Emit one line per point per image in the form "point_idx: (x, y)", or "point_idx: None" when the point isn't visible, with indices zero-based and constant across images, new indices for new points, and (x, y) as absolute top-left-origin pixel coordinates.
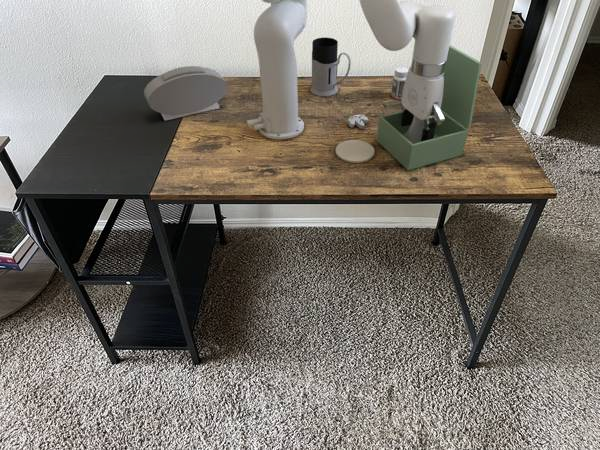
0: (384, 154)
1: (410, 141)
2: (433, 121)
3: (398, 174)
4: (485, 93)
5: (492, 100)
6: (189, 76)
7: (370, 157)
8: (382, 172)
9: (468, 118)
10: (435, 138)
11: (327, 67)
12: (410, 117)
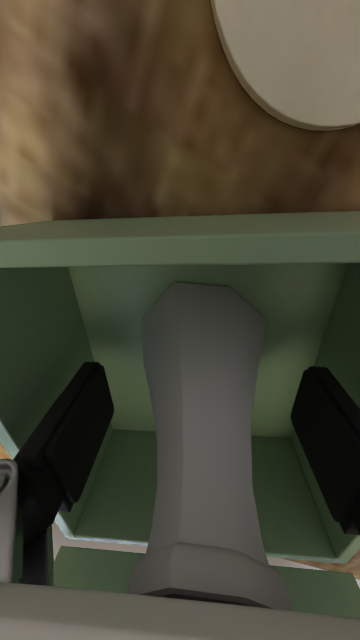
0: (222, 177)
1: (171, 329)
2: (23, 570)
3: (23, 149)
4: (322, 566)
5: (289, 560)
6: None
7: (216, 12)
8: (51, 42)
9: None
10: (5, 435)
11: None
12: (319, 455)
